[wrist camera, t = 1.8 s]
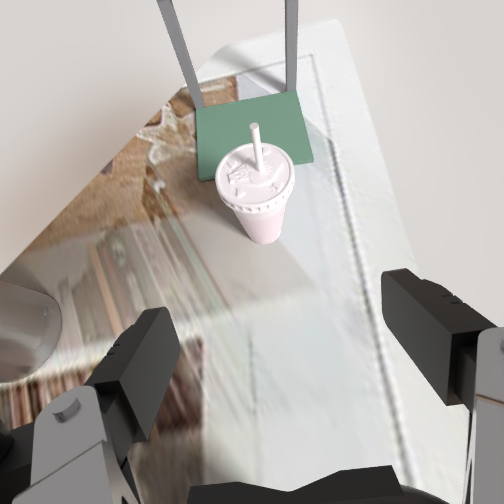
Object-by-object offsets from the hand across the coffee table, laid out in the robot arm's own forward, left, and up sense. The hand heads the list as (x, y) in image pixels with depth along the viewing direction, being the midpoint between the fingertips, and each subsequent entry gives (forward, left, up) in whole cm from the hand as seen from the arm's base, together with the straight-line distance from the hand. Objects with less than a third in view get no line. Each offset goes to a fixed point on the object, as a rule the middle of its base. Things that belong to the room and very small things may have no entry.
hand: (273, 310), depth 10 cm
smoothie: (0, +12, -17) cm, 21 cm away
